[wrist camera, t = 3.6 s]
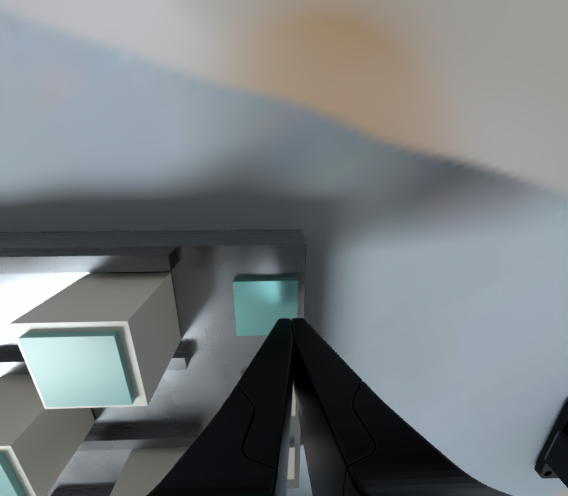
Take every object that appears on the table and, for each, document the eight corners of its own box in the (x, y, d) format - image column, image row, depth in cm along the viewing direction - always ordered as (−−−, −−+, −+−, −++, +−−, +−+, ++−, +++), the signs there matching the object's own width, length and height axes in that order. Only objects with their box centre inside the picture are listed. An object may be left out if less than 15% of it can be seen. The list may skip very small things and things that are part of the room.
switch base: (300, 230, 11) (308, 250, 9) (296, 449, 16) (299, 501, 14) (-82, 233, 11) (-185, 256, 8) (28, 459, 16) (-18, 515, 13)
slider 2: (170, 272, 10) (123, 325, 7) (181, 339, 11) (145, 411, 8) (87, 273, 10) (1, 328, 7) (106, 341, 11) (39, 415, 8)
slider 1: (78, 371, 11) (4, 452, 8) (95, 422, 12) (35, 511, 9) (4, 373, 11) (-98, 456, 8) (28, 424, 12) (-55, 515, 9)
